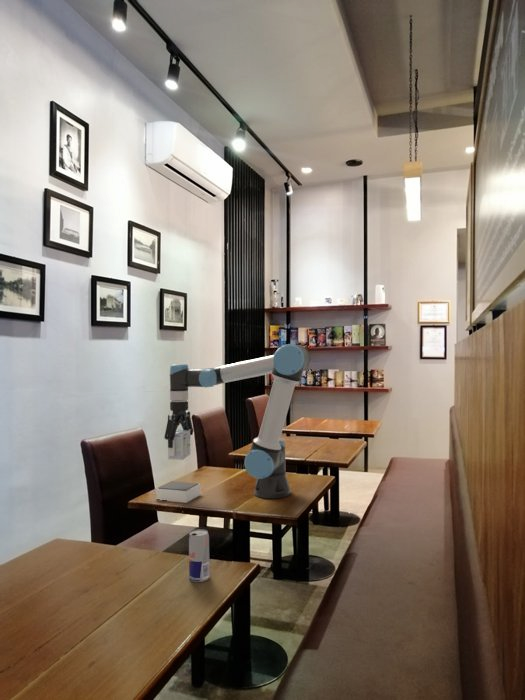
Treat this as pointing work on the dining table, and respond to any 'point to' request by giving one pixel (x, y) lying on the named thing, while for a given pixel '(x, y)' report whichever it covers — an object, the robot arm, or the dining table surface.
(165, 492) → the stand
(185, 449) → the light bulb box
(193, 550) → the energy drink
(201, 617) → the dining table surface
